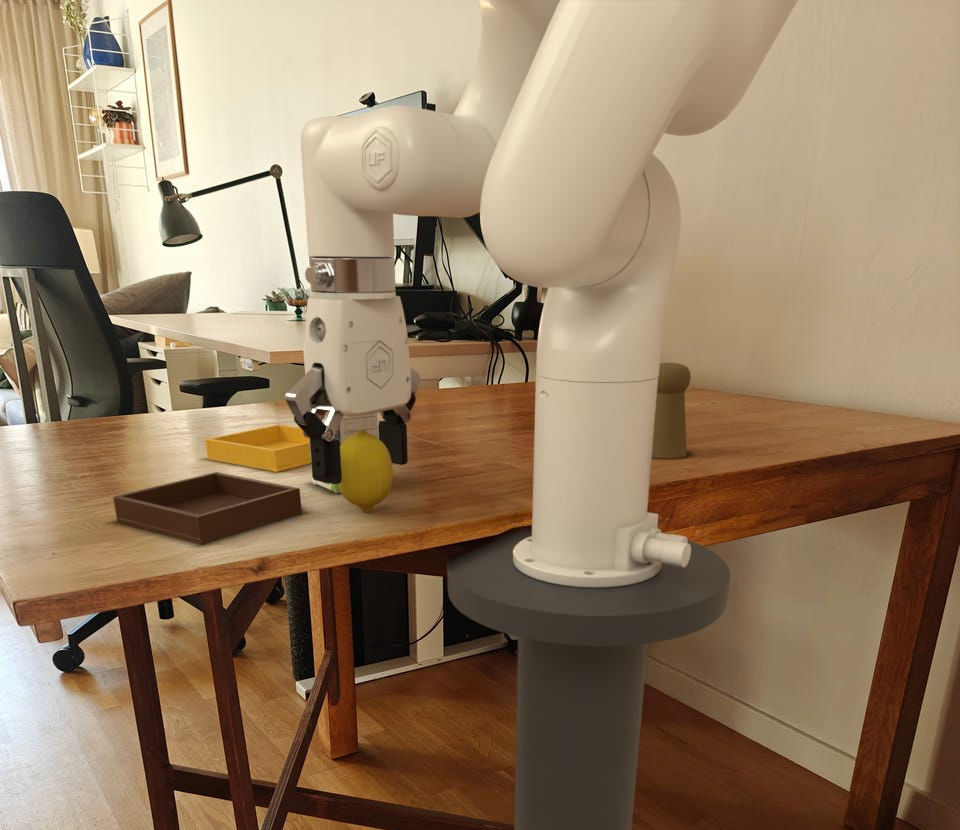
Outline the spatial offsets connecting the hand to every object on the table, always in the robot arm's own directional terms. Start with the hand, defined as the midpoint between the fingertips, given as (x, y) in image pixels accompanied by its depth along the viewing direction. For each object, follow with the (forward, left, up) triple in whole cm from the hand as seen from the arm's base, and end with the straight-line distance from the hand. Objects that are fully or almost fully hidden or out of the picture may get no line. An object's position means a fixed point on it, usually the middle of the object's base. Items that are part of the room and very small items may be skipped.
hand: (361, 471), depth 83 cm
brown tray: (+11, +10, -4) cm, 15 cm away
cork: (-13, -42, -4) cm, 44 cm away
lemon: (0, 0, -4) cm, 4 cm away
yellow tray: (+26, -13, -4) cm, 29 cm away
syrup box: (+9, -7, -4) cm, 12 cm away
